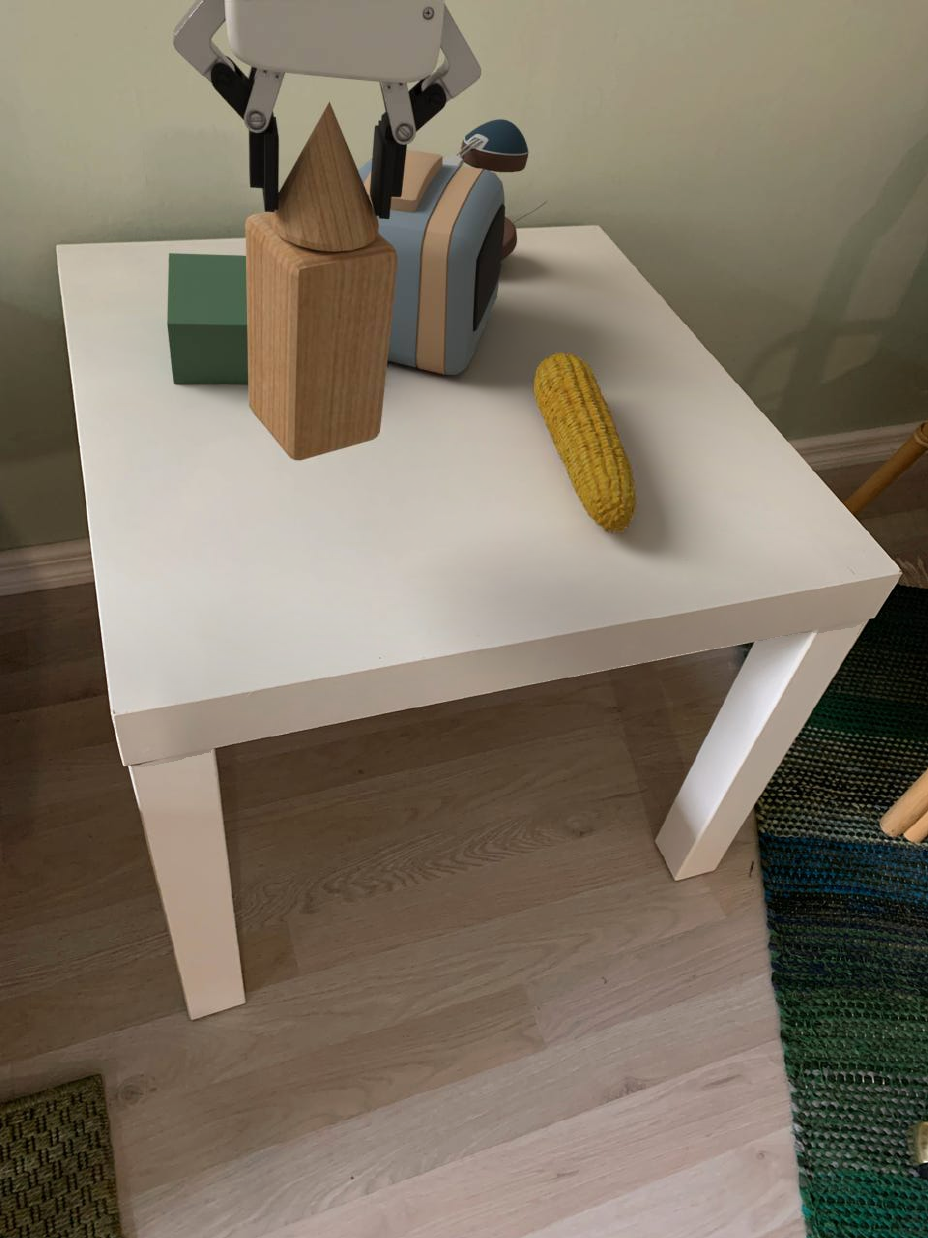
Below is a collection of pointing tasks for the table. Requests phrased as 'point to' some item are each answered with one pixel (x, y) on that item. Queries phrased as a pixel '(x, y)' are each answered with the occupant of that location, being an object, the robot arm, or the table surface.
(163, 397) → the table surface
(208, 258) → the green block
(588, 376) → the food
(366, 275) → the decorative item
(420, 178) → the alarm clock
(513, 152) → the headphones
